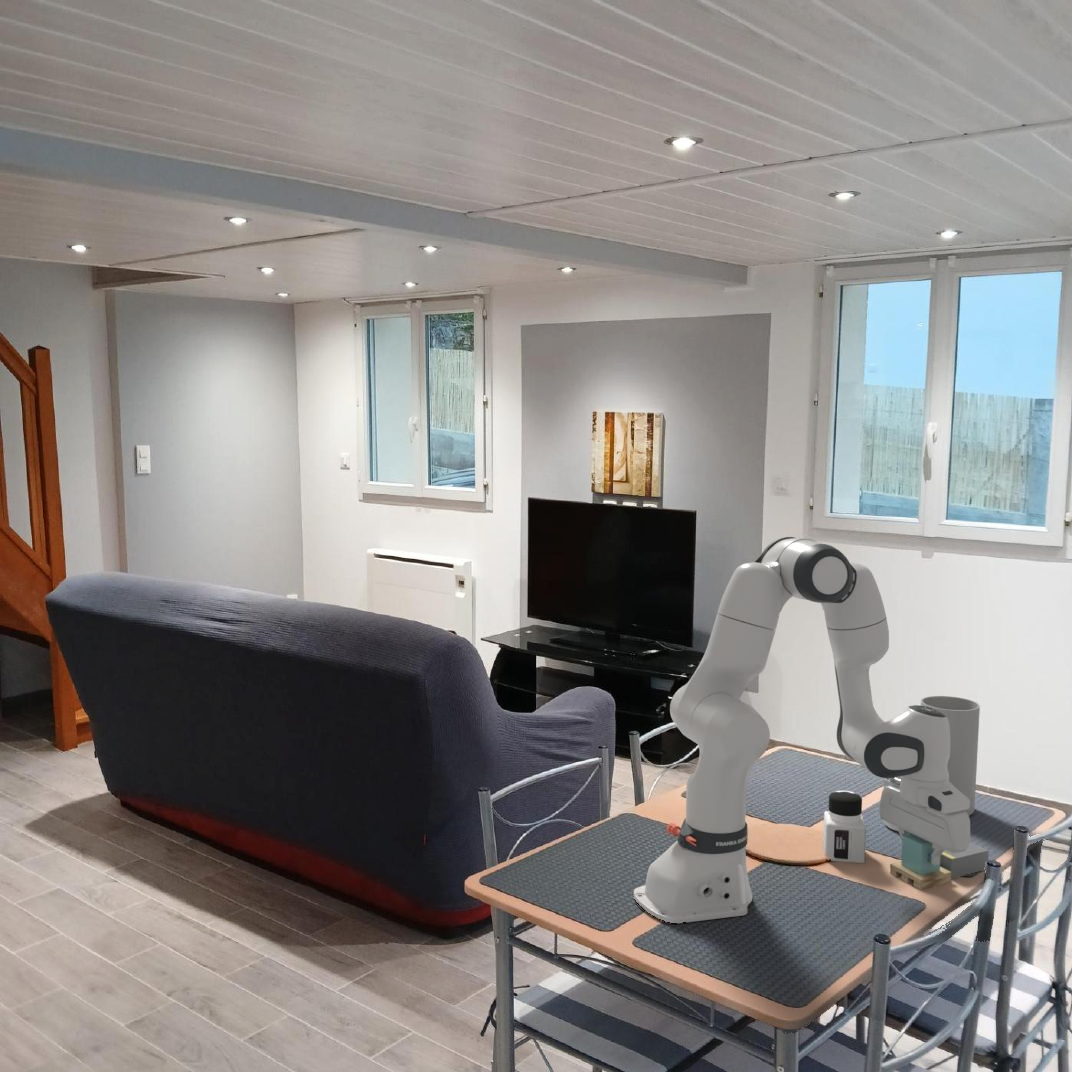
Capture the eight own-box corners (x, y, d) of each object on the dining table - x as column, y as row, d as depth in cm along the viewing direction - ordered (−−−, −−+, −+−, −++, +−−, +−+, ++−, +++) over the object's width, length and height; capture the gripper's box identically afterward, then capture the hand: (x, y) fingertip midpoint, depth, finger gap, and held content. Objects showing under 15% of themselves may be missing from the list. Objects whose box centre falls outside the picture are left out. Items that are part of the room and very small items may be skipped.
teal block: (920, 875, 204) (921, 845, 204) (901, 865, 209) (902, 836, 208) (939, 870, 206) (941, 840, 206) (920, 860, 211) (921, 831, 210)
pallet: (920, 889, 203) (920, 879, 202) (889, 873, 210) (890, 863, 209) (951, 881, 206) (951, 872, 206) (919, 866, 213) (920, 856, 213)
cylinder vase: (979, 806, 246) (984, 701, 243) (967, 823, 236) (973, 713, 233) (923, 795, 253) (928, 693, 250) (910, 811, 243) (914, 705, 240)
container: (864, 864, 214) (867, 802, 213) (825, 860, 216) (827, 799, 214) (861, 848, 222) (863, 788, 220) (822, 845, 223) (824, 786, 222)
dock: (950, 879, 207) (951, 858, 207) (912, 859, 216) (913, 840, 216) (987, 869, 212) (988, 850, 211) (948, 851, 221) (949, 832, 220)
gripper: (873, 775, 214) (870, 841, 215) (952, 808, 195) (949, 880, 197) (896, 770, 216) (894, 835, 218) (977, 803, 198) (973, 874, 200)
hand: (920, 857), depth 207 cm, fingers open, 5 cm apart
